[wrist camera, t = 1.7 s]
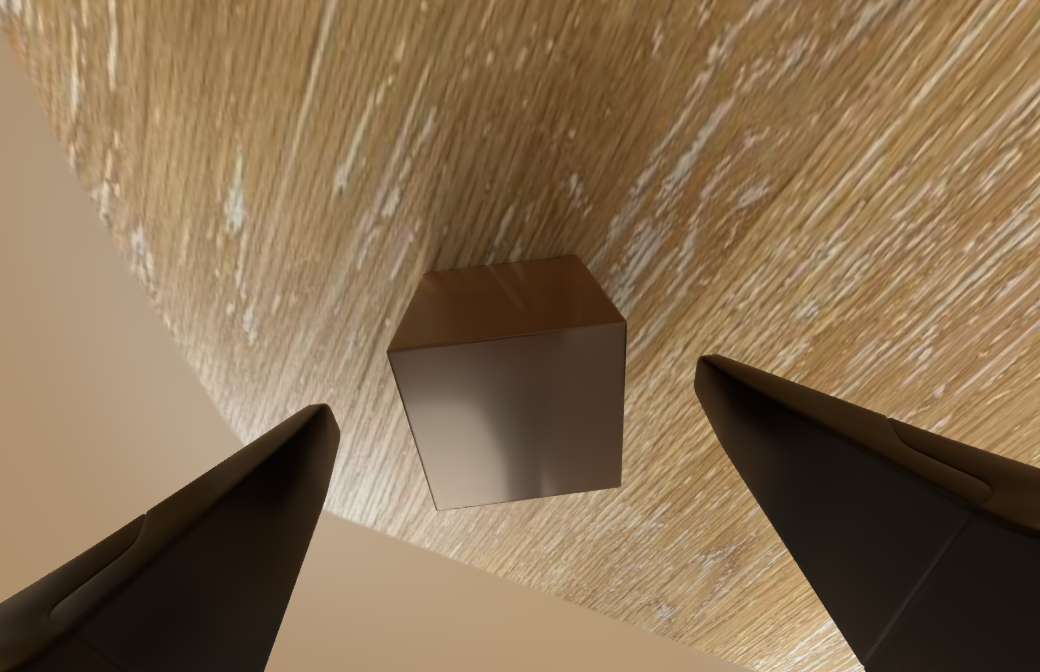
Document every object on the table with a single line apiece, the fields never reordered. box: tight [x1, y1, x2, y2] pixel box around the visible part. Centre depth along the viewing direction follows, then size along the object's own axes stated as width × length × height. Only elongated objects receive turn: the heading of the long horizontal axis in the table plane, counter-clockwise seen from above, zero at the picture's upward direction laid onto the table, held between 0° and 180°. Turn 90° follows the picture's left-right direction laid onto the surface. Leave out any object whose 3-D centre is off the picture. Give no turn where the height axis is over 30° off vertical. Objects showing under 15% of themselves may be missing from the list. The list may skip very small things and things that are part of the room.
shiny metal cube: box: [387, 255, 627, 511], centre depth 10 cm, size 4×4×4 cm
